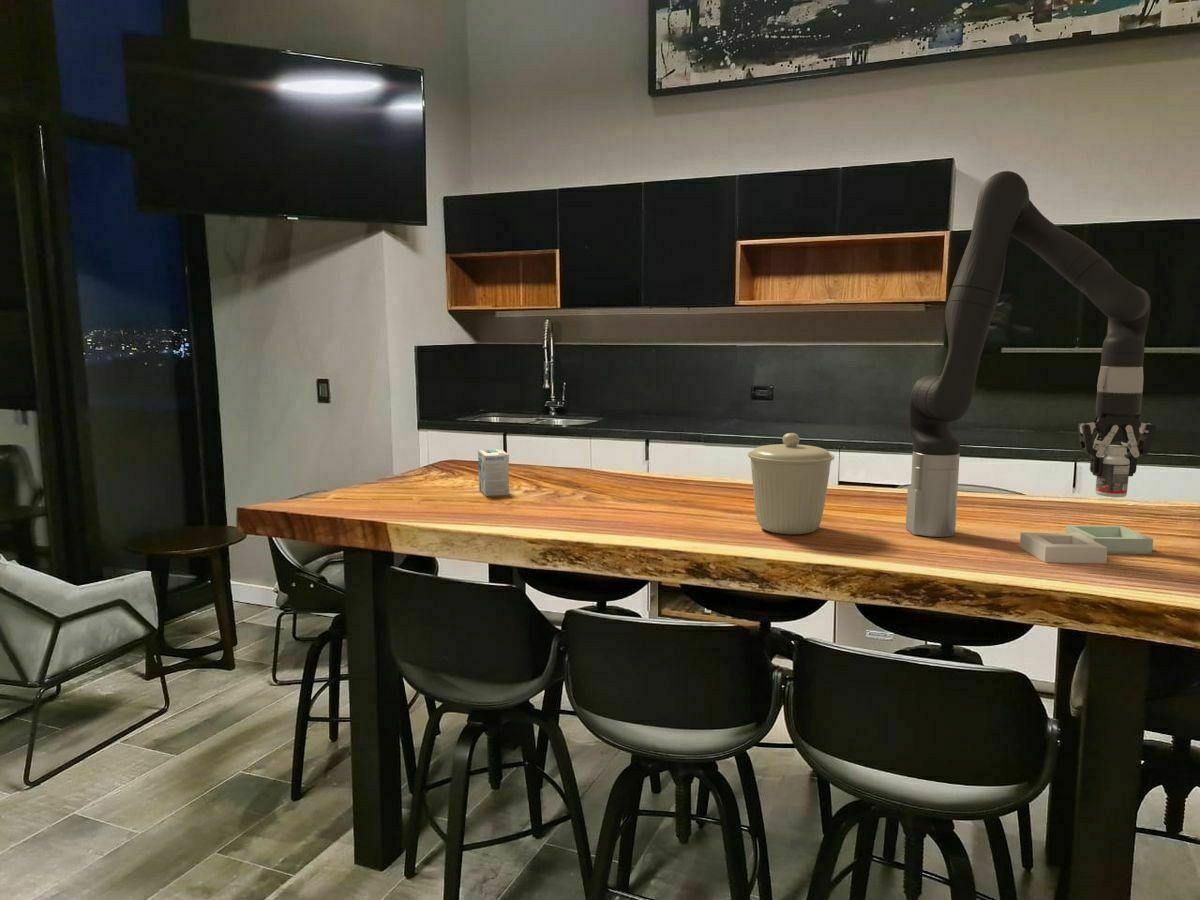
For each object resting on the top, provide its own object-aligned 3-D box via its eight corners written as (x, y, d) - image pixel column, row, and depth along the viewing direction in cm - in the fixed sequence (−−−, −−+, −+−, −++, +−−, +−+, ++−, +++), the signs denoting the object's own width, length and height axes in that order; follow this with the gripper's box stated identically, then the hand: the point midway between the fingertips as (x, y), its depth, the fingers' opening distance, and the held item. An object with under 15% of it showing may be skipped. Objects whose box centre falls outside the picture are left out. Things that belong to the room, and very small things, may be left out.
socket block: (1044, 562, 157) (1045, 546, 157) (1019, 547, 168) (1020, 532, 168) (1106, 563, 157) (1107, 547, 156) (1076, 548, 167) (1078, 533, 167)
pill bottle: (1088, 492, 170) (1092, 444, 168) (1113, 492, 170) (1118, 444, 169) (1107, 498, 164) (1111, 448, 163) (1133, 497, 165) (1137, 447, 163)
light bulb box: (478, 489, 231) (477, 449, 229) (502, 487, 233) (501, 448, 231) (484, 496, 221) (484, 455, 219) (510, 494, 223) (509, 454, 221)
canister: (730, 524, 189) (732, 430, 186) (800, 517, 195) (803, 426, 192) (775, 543, 172) (777, 440, 169) (849, 535, 178) (853, 436, 175)
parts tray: (1092, 553, 163) (1093, 538, 163) (1065, 539, 174) (1066, 525, 174) (1151, 554, 163) (1153, 539, 162) (1120, 540, 174) (1122, 525, 173)
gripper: (1091, 391, 161) (1084, 479, 163) (1169, 391, 160) (1161, 479, 163) (1071, 388, 168) (1065, 472, 171) (1146, 388, 168) (1139, 472, 170)
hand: (1112, 475), depth 167 cm, fingers closed on pill bottle, 5 cm apart
